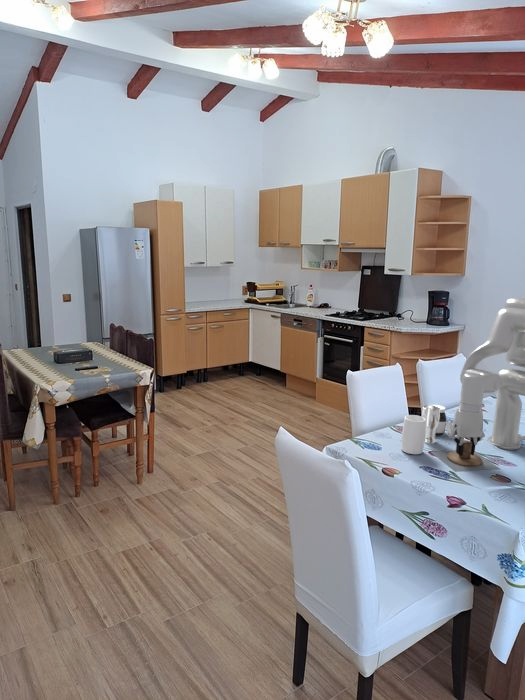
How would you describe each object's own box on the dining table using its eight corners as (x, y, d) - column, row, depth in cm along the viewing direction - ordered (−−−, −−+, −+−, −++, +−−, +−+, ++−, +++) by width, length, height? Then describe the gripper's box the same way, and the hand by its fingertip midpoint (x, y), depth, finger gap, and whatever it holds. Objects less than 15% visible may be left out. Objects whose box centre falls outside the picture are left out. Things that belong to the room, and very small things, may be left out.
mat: (472, 451, 203) (472, 449, 203) (500, 471, 186) (500, 469, 186) (429, 453, 200) (430, 451, 200) (454, 473, 183) (455, 471, 183)
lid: (469, 452, 200) (471, 435, 198) (488, 465, 188) (490, 447, 187) (441, 454, 198) (443, 436, 196) (458, 467, 186) (460, 449, 185)
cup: (396, 450, 202) (399, 415, 200) (414, 448, 205) (418, 413, 202) (408, 458, 195) (412, 422, 192) (427, 456, 197) (431, 421, 194)
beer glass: (437, 446, 208) (441, 410, 205) (419, 444, 209) (423, 409, 206) (435, 440, 214) (439, 405, 211) (418, 438, 216) (421, 404, 213)
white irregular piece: (422, 428, 228) (424, 403, 226) (448, 429, 228) (450, 404, 226) (429, 438, 216) (432, 411, 214) (457, 439, 216) (460, 413, 214)
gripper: (485, 403, 194) (479, 449, 198) (444, 404, 191) (439, 451, 195) (497, 409, 187) (491, 457, 190) (455, 410, 184) (449, 459, 187)
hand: (465, 453), depth 192 cm, fingers closed on lid, 4 cm apart
